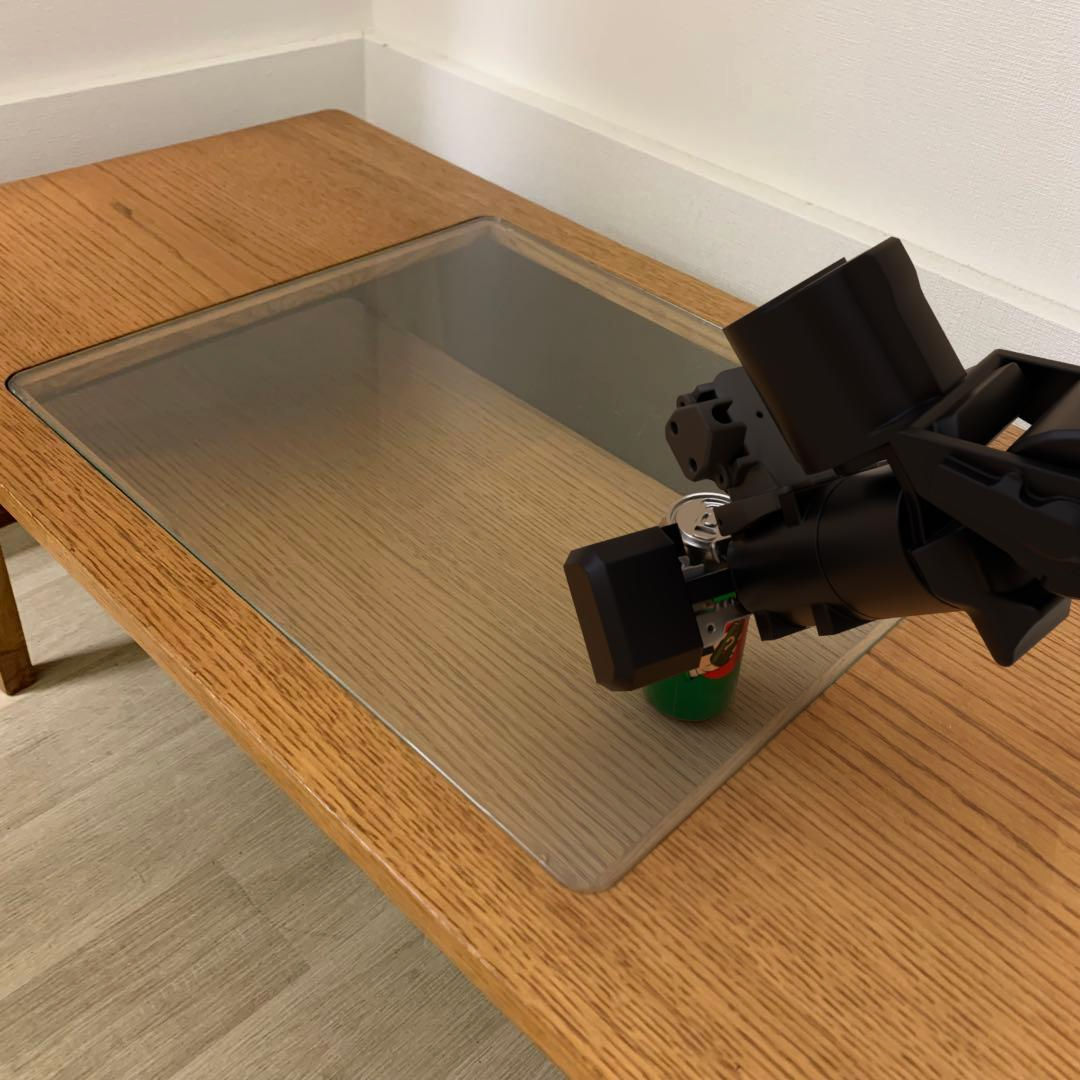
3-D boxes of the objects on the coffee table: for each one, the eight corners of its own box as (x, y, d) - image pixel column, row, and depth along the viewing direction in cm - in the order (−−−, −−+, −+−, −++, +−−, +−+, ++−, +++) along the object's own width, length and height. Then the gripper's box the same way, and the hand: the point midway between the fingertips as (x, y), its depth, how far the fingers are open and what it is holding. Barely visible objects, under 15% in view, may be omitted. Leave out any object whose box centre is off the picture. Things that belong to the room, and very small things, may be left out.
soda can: (746, 675, 62) (779, 503, 54) (718, 740, 58) (748, 567, 50) (659, 646, 63) (678, 476, 56) (626, 708, 60) (642, 536, 52)
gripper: (996, 303, 47) (783, 396, 61) (609, 390, 40) (471, 472, 54) (1072, 560, 47) (841, 592, 61) (698, 694, 40) (535, 695, 54)
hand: (681, 583), depth 58 cm, fingers closed on soda can, 5 cm apart
